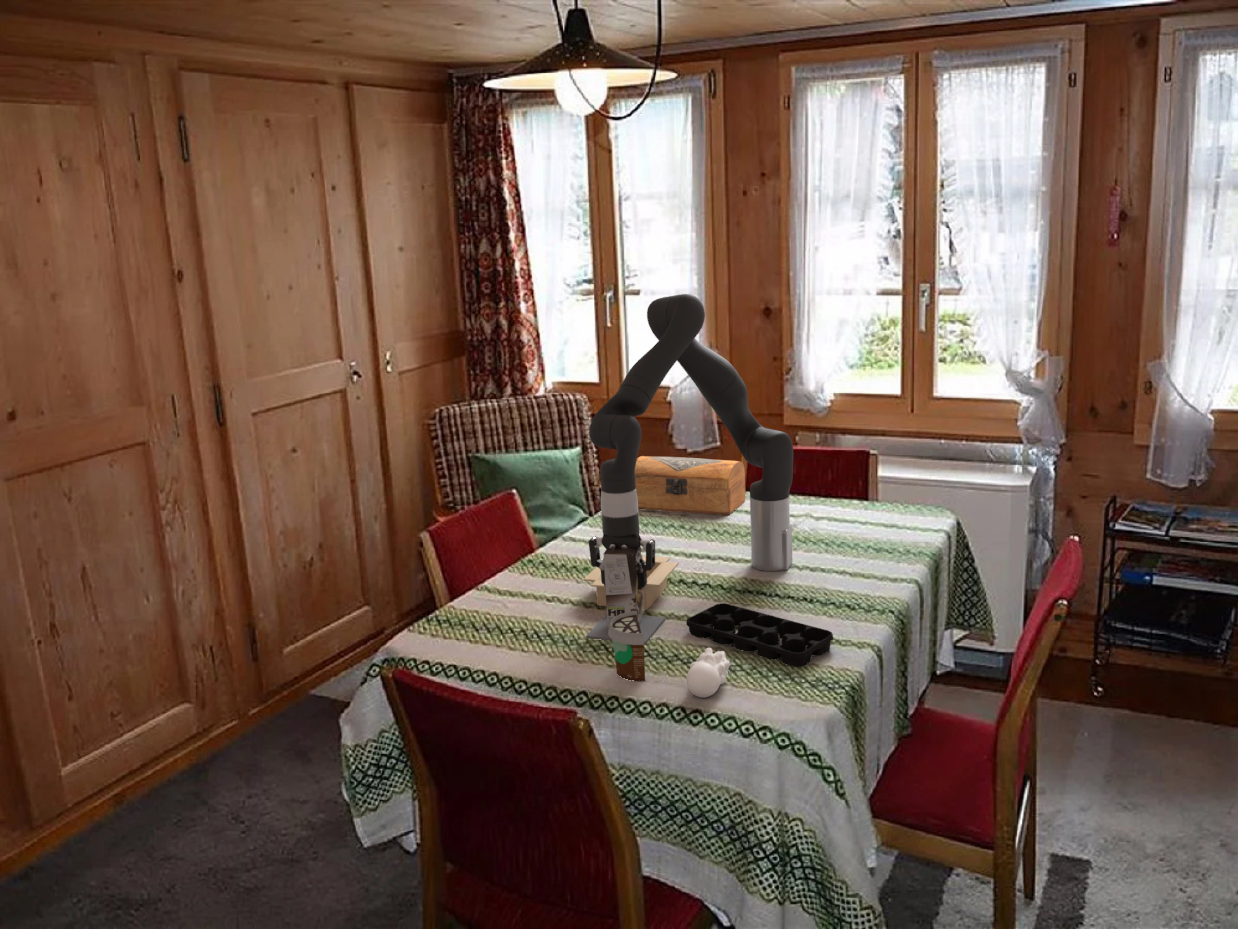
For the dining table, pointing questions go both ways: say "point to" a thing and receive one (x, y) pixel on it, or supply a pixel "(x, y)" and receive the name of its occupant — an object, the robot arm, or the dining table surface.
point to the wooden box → (689, 484)
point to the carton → (652, 588)
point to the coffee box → (622, 583)
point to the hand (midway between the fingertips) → (624, 586)
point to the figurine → (707, 673)
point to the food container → (628, 646)
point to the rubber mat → (646, 624)
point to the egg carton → (761, 634)
